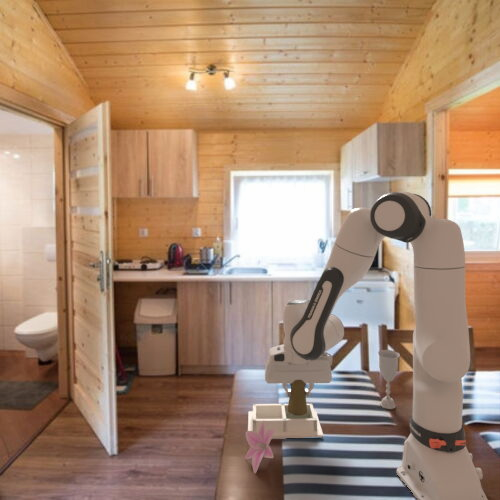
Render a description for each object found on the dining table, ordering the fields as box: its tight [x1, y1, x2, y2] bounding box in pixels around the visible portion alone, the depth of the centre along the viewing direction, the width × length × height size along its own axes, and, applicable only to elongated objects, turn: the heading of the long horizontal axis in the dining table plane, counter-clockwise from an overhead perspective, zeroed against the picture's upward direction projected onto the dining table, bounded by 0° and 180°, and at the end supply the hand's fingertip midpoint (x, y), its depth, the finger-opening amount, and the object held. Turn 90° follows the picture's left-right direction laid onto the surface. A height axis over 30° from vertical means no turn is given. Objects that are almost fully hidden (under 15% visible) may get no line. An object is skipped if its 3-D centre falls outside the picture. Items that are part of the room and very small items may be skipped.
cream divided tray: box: [247, 403, 324, 440], centre depth 122 cm, size 14×22×4 cm, turn 89°
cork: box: [287, 380, 308, 415], centre depth 121 cm, size 6×6×11 cm
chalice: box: [377, 349, 401, 410], centre depth 133 cm, size 7×7×18 cm
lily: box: [244, 420, 276, 474], centre depth 106 cm, size 12×12×10 cm
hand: (297, 395), depth 121 cm, fingers closed on cork, 4 cm apart
